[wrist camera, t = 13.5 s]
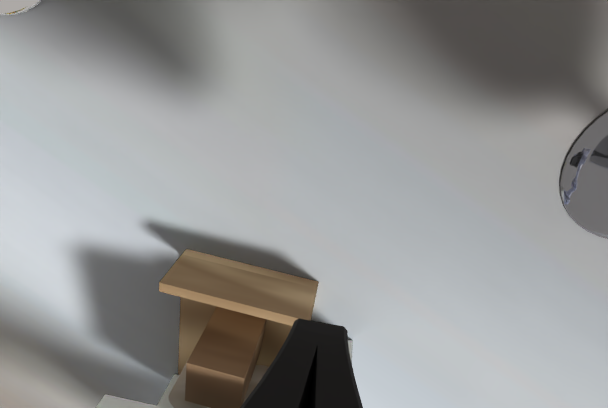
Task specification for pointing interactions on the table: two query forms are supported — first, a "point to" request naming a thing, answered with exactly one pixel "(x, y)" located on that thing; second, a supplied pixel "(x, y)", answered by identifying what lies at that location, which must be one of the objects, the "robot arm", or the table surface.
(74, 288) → the table surface
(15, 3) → the wineglass
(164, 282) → the wooden toy
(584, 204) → the wine glass
